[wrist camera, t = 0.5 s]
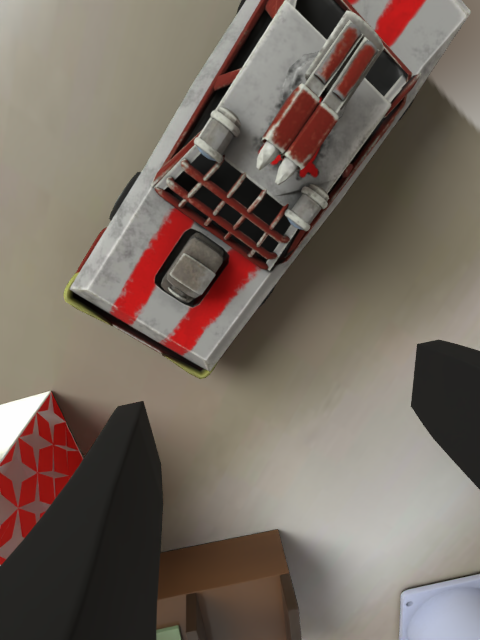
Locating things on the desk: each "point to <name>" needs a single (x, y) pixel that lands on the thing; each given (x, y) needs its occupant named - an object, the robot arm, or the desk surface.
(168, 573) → the divided wooden tray
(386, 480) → the desk surface
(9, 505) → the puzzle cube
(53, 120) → the desk surface
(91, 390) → the desk surface
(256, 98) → the toy car
